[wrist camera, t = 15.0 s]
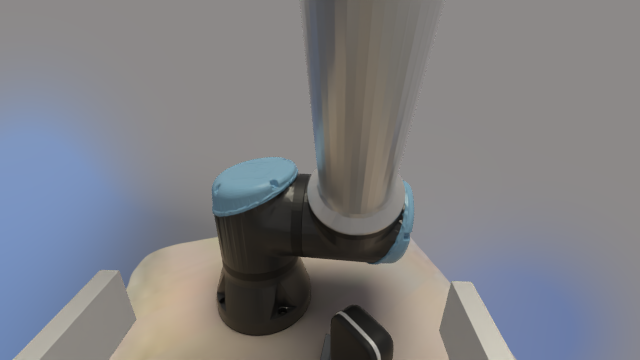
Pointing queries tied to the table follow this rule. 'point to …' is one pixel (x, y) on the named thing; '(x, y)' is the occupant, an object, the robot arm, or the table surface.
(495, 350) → the robot arm
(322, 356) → the dock
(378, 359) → the battery charger
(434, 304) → the table surface
